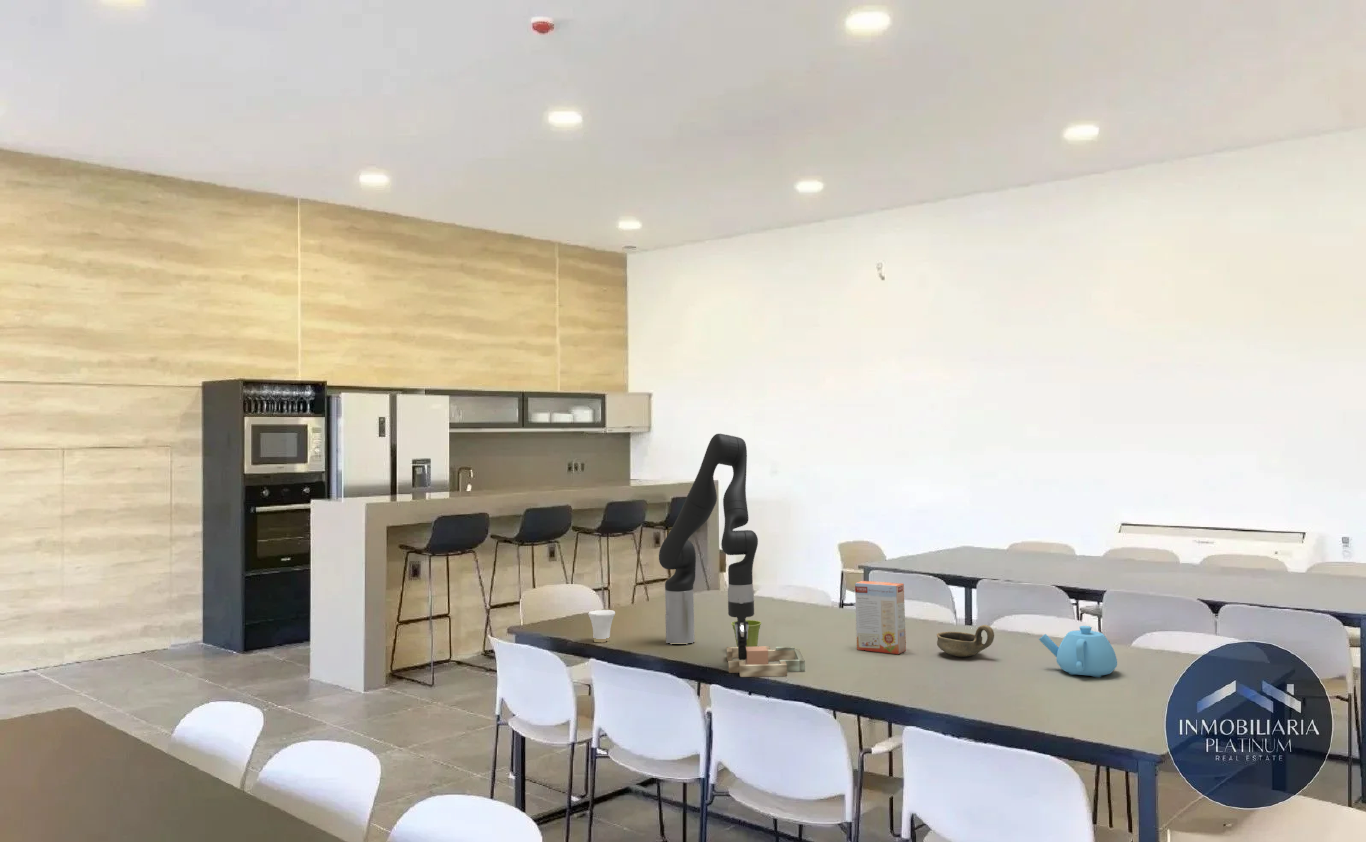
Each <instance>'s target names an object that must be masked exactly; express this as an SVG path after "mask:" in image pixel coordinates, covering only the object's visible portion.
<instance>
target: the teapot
mask: <svg viewBox="0 0 1366 842" xmlns="http://www.w3.org/2000/svg"><path fill="white" fill-rule="evenodd" d="M1038 640H1039V642H1041V643H1042V645H1044V646H1045V648H1046V649H1047V650H1048V651H1050V653H1052V654H1053V655H1054V657H1056V659H1055V660H1056V663H1057V665H1058V666H1059V667H1060V669H1061V670H1062V671H1064V672H1066V673H1068V675H1071V676H1077V675H1079V676H1091V677H1092V678H1101V677H1102V676H1105V675H1110V674H1111V673H1112V672H1113V671H1114V670H1116V668H1117V667H1118V659H1117V655H1116V652H1115V649H1114V647H1113V646H1112V644H1111V643H1110V641H1109V640H1108V638H1107V636H1106V635H1105V634H1104V633H1102V632H1099V631H1096V630H1095V631H1094V630H1092V627H1091V626H1090V625H1080V626H1079V630H1071V631H1068V632H1067V633H1066V635H1065V636H1064V637H1063V639H1062V641H1061V642H1060V645H1059V646H1058V645H1057V644H1056V643H1055V642H1054V641H1053V640H1052V639H1051V638H1050V637H1049V635H1047V634H1046V633H1045V634H1043V635H1042V636H1041V637H1040V638H1038Z"/></svg>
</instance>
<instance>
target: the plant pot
mask: <svg viewBox="0 0 1366 842" xmlns="http://www.w3.org/2000/svg"><path fill="white" fill-rule="evenodd" d="M746 621H748V625H749V629H748V639H747V646H746V647H756V646H758V642H759V634H760V633H759V632H760V629H761V625H762V621H759V620H755V619H752V620H751V619H746ZM735 622H737V620H736V621H731V623H730V624H731V626H732V629H733V632H734V638H735V642H736V643H735V645H736V647H738V646H737V643H738V641H737V639H736V630H735Z"/></svg>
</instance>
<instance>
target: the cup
mask: <svg viewBox="0 0 1366 842" xmlns="http://www.w3.org/2000/svg"><path fill="white" fill-rule="evenodd" d="M587 615H588V616H589V619H590V622H591V626H592V634H593V636H592V639H593V638H596V639H606V638H609V637H611V627H612V623H613V619H614V617H615V615H616V611H615V610H612V609H611V610H610V609H596V610H590V611H589V612H588V613H587Z"/></svg>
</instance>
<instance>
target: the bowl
mask: <svg viewBox="0 0 1366 842" xmlns="http://www.w3.org/2000/svg"><path fill="white" fill-rule="evenodd" d="M983 631H984V632H985V633H986V635H987V638H986V641H985V642H984V643H983V637H982V633H983ZM936 637H937V641H936V644H937V647H938V648H939V649H940V650H941V651H942V652H944V653H945V654H948V655H950V656H955V657H960V658H965V657H970V656H974V655H977V654H978V653H981V652H982V651H983V650H986V649H987V648H989V647H990V646H991V645H992V644H993V642H994V640H995V632H994V630H993V628H992V627H991V626H990V625H987V624H982V625H980V626H979V627H977V629H976V631H975V634H973V633H968V632H963V631H942V632H938V633H936Z"/></svg>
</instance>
